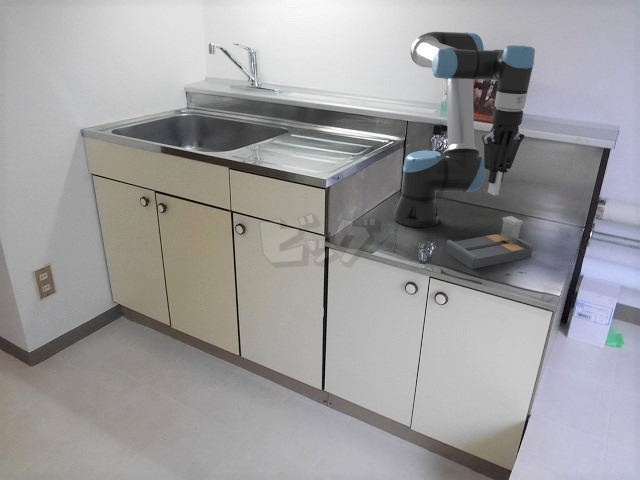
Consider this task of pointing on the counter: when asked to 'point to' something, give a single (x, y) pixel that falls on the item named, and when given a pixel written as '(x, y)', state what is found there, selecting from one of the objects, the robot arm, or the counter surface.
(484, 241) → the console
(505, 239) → the fader knob
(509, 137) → the robot arm
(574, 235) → the counter surface
